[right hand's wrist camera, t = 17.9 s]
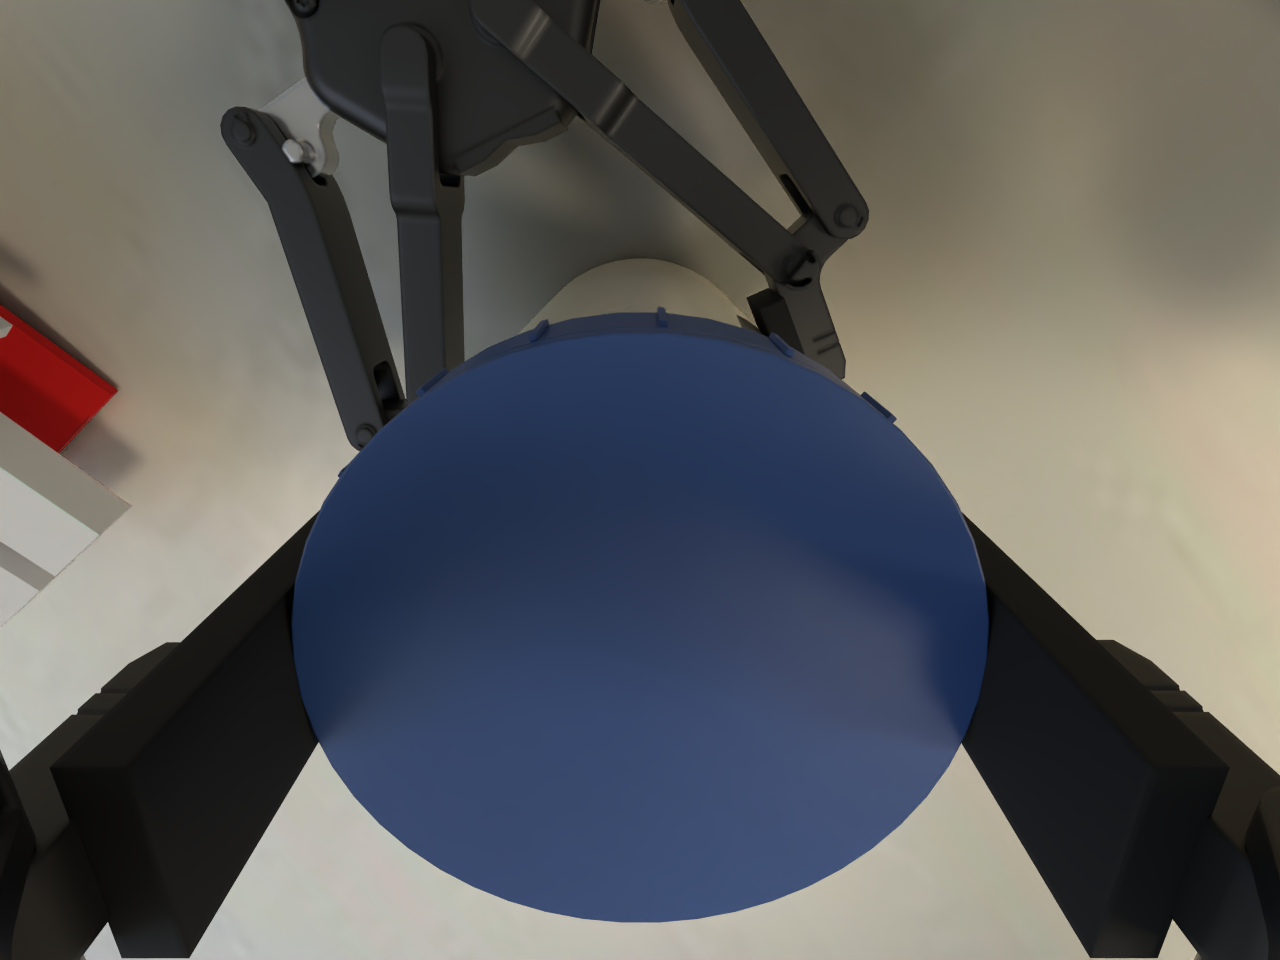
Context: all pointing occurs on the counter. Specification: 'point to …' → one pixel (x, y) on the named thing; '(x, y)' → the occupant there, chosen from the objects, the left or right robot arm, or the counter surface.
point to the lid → (640, 620)
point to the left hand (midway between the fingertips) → (693, 535)
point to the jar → (641, 294)
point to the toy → (44, 463)
